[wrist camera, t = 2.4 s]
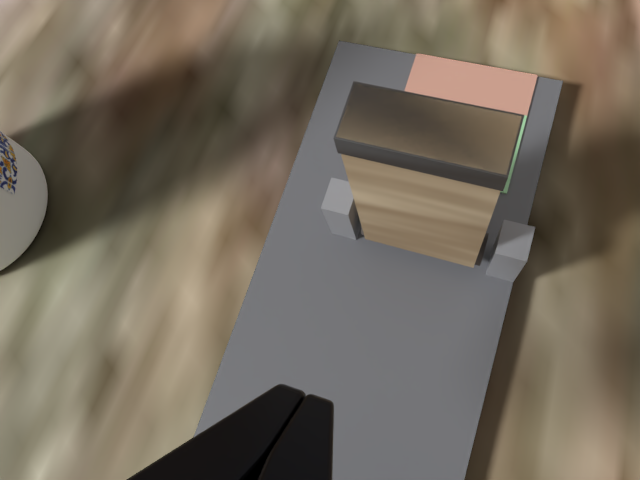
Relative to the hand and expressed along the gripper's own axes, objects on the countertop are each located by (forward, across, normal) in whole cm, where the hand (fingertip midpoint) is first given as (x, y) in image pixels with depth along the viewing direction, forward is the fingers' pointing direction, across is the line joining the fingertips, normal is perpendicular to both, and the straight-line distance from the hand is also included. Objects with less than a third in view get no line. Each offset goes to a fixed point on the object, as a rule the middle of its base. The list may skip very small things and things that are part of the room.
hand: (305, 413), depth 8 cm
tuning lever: (+13, 0, +3) cm, 13 cm away
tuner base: (+13, +1, +6) cm, 14 cm away
